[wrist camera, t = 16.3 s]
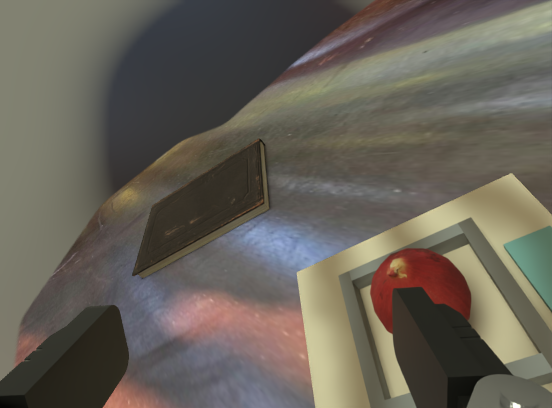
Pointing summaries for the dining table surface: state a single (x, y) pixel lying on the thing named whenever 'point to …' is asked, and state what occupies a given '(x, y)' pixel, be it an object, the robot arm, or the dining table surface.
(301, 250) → the dining table surface
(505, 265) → the cradle board
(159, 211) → the hardcover book
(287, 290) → the dining table surface
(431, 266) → the onion
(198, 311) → the dining table surface
